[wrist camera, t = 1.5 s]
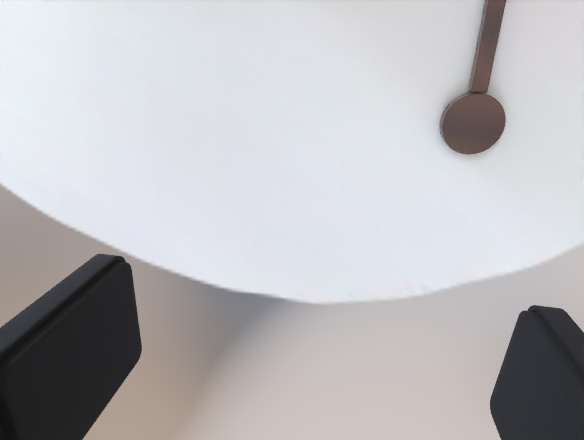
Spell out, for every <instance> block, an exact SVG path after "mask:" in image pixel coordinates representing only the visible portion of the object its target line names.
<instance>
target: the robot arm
mask: <svg viewBox="0 0 584 440" xmlns="http://www.w3.org/2000/svg"><path fill="white" fill-rule="evenodd" d="M141 350H142V345H141V338H140V331H139V323H138V315H137V307H136V301H135V293H134V285H133V277H132V270H131V266H130V264H129V263H126V262H125V260H124V258H123V257H121V256H115V255H106V254H97V255H95V256H94V257H93V258H91V259H90V260H89V261H87V262H86V263H85V264H84V265H82V266H81V267H80V268H78V269H77V270H76V271H74V272H73V273H72V274H70V275H69V276H68V277H66V278H65V279H64V280H62V281H61V282H60V283H59V284H57V285H56V286H55V287H53V288H52V289H51V290H50V291H48V292H47V293H45V294H44V295H43V296H42V297H40V298H39V299H37V300H36V301H35V302H34V303H32V304H31V305H30V306H28V307H27V308H26V309H25V310H23V311H22V312H20V313H19V314H18V315H16V316H15V317H14V318H13V319H11V320H10V321H9V322H7V323H6V324H5V325H4V326H2V327H1V328H0V440H82V439H83V438H84V436H85V435H86V434H87V432H88V431H89V429H90V428H91V427H92V425H93V424H94V422H95V421H96V420H97V418H98V417H99V415H100V414H101V413H102V411H103V410H104V408H105V407H106V406H107V404H108V403H109V401H110V400H111V399H112V397H113V396H114V394H115V393H116V392H117V390H118V389H119V387H120V386H121V384H122V383H123V382H124V380H125V379H126V377H127V376H128V375H129V373H130V372H131V370H132V369H133V368H134V366H135V365H136V363H137V362H138V360H139V358H140V355H141ZM490 409H491V414H492V417H493V420H494V422H495V425H496V427H497V430H498V432H499V435H500V438H501V440H584V333H583V331H582V330H581V329H580V328H579V327H578V326H577V324H576V323H575V322H574V321H573V320H572V319H571V317H570V316H569V315H568V314H567V313H566V312H565V311H564V310H563V309H560V308H552V307H544V306H536V305H533V306H531V307H530V308H529V309H528V311H522V312H521V313H520V314H519V317H518V319H517V322H516V326H515V328H514V331H513V334H512V337H511V340H510V343H509V346H508V349H507V352H506V355H505V358H504V361H503V364H502V367H501V369H500V373H499V375H498V378H497V381H496V384H495V387H494V390H493V393H492V396H491V400H490Z"/></svg>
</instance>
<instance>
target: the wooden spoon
mask: <svg viewBox="0 0 584 440" xmlns="http://www.w3.org/2000/svg"><path fill="white" fill-rule="evenodd" d="M505 2H506V0H486V1H485V6H484V12H483V17H482V22H481V28H480V33H479V38H478V44H477V49H476V54H475V60H474V65H473V70H472V76H471V81H470V86H469V91H470V92H487V90H488V85H489V80H490V75H491V71H492V66H493V61H494V56H495V51H496V46H497V41H498V36H499V32H500V27H501V22H502V17H503V12H504V7H505ZM504 127H505V112H504V109H503V107H502V106H501V104H500V103H499V102H498V101H497V100H496V99H495V98H493V97H491V96H489V95H486V94H482V93H468V94H465V95H462V96H460V97H458V98H456V99H455V100H453V101H452V102H451V103H450V104H449V105H448V106H447V108H446V109H445V111H444V112H443V114H442V117H441V121H440V133H441V136H442V138H443V140H444V141H445V143H446V144H447V145H448V146H449V147H450V148H452V149H453V150H455V151H456V152H459V153H462V154H476V153H480V152H482V151H485V150H486V149H488V148H490V147H491V146H492V145H493V144H495V143H496V141H497V140H498V139H499V138H500V136H501V134H502V132H503V130H504Z"/></svg>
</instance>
